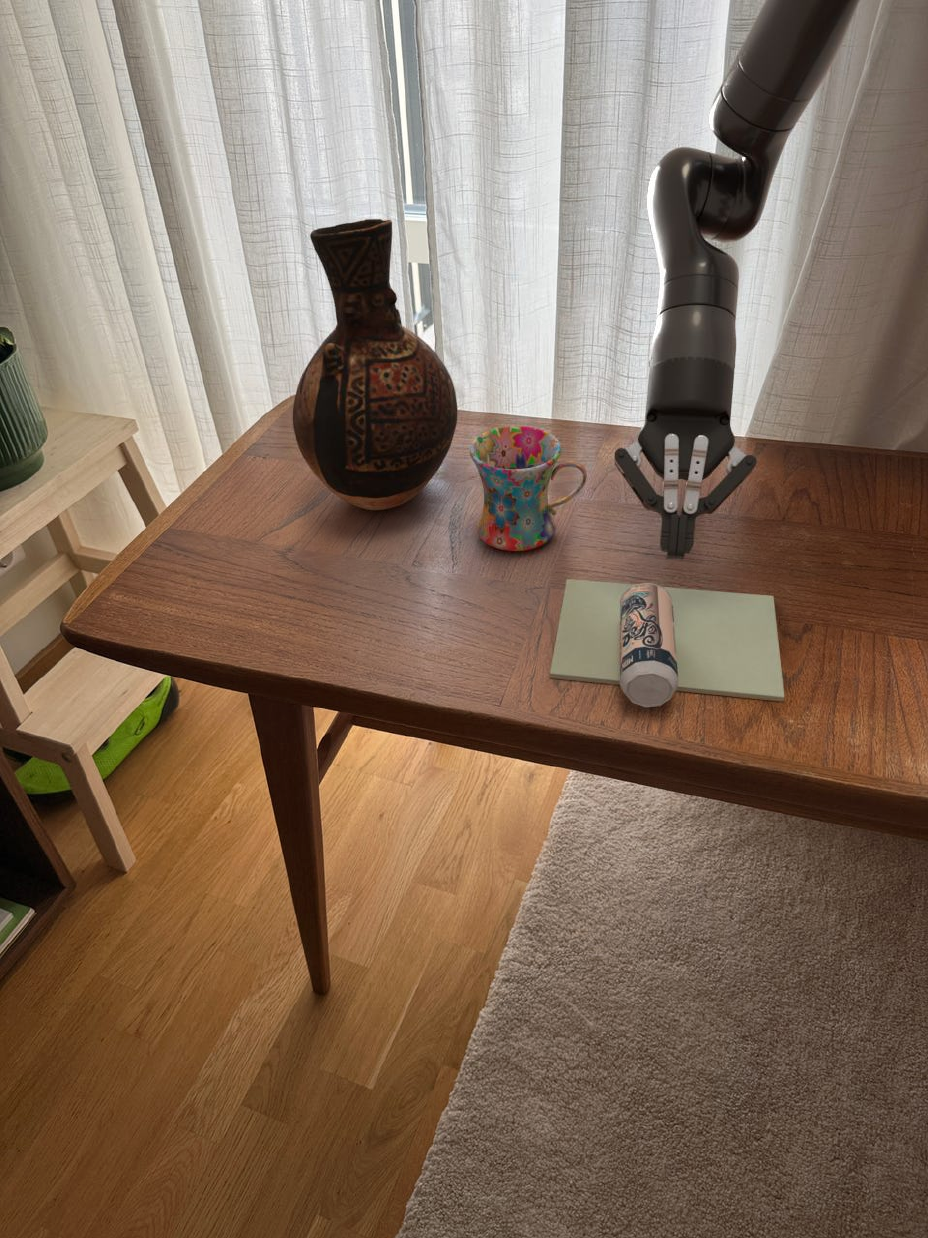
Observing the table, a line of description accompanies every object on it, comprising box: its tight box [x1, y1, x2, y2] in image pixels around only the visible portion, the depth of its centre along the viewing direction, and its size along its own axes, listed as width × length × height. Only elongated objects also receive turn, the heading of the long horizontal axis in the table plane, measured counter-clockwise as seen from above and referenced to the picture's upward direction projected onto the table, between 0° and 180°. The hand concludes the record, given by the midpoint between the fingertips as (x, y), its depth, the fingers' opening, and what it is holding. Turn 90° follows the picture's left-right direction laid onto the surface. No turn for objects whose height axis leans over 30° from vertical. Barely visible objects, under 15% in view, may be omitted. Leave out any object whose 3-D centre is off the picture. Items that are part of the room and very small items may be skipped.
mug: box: [469, 425, 588, 552], centre depth 93 cm, size 12×9×11 cm
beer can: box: [619, 582, 678, 708], centre depth 78 cm, size 5×5×12 cm
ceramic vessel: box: [292, 218, 458, 511], centre depth 95 cm, size 21×18×30 cm
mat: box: [549, 578, 786, 703], centre depth 82 cm, size 20×14×1 cm
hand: (675, 557), depth 79 cm, fingers closed
